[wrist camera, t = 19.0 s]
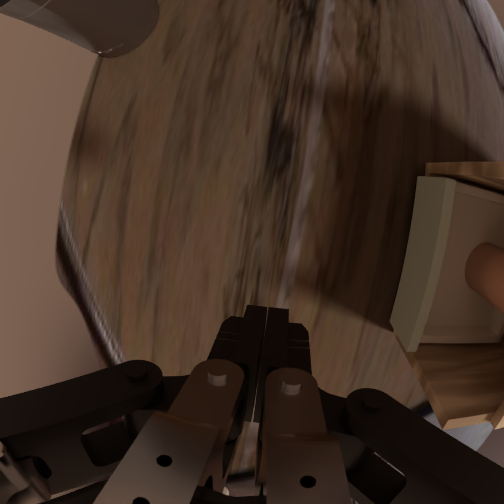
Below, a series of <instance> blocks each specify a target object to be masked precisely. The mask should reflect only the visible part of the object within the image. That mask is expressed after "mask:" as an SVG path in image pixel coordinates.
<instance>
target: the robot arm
mask: <svg viewBox="0 0 504 504" xmlns="http://www.w3.org/2000/svg"><path fill="white" fill-rule="evenodd" d="M0 13H2V14H5V15H8V16H10V17H13V18H16V19H19V20H21V21H24V22H27V23H29V24H32V25H34V26H36V27H39V28H42V29H44V30H46V31H49V32H51V33H53V34H55V35H58V36H60V37H62V38H64V39H67V40H69V41H71V42H73V43H75V44H77V45H79V46H82V47H84V48H86V49H88V50H90V51H91V52H93V53H96V54H98V55H100V56H102V57H116V56H120V55H123V54H125V53H127V52H129V51H131V50H132V49H134V48H135V47H137V46H138V45H139V44H140V43H142V42H143V41H144V40H145V39H146V38H147V36H148V35H149V34H150V33H151V31H152V30H153V28H154V26H155V24H156V22H157V19H158V15H159V6H158V4H157V1H156V0H0ZM266 315H267V307H263V306H254V305H247V307H246V311H245V314H244V317H235V316H231V317H229V318H228V319H226V320H225V321H224V322H223V323H222V325H221V327H220V330H219V332H218V334H217V337H216V339H215V342H214V344H213V346H212V349H211V351H210V354H209V356H208V358H207V360H206V361H203V362H201V363H199V364H197V365H196V366H195V367H194V369H193V370H192V372H191V374H190V375H186V376H163V375H162V371H161V369H160V368H159V367H158V366H157V365H155V364H154V363H152V362H149V361H145V360H131V361H127V362H124V363H121V364H118V365H115V366H111V367H108V368H105V369H102V370H99V371H96V372H93V373H90V374H86V375H83V376H80V377H77V378H73V379H70V380H67V381H63V382H60V383H56V384H53V385H50V386H46V387H43V388H38V389H35V390H31V391H27V392H24V393H20V394H16V395H12V396H8V397H4V398H0V504H352V503H351V497H352V498H353V499H354V500H356V501H357V502H358V503H359V504H504V468H503V467H501V466H500V465H498V464H496V463H494V462H493V461H491V460H489V459H488V458H486V457H484V456H483V455H481V454H479V453H478V452H476V451H474V450H473V449H471V448H470V447H468V446H466V445H465V444H463V443H461V442H460V441H458V440H457V439H455V438H453V437H452V436H450V435H449V434H447V433H446V432H444V431H442V430H441V429H439V428H438V427H436V426H435V425H433V424H431V423H430V422H428V421H427V420H425V419H424V418H422V417H421V416H419V415H418V414H416V413H415V412H413V411H411V410H410V409H408V408H407V407H405V406H404V405H402V404H401V403H399V402H398V401H396V400H395V399H393V398H392V397H390V396H389V395H387V394H386V393H384V392H382V391H380V390H376V389H371V388H362V389H358V390H355V391H353V392H351V393H350V394H349V395H348V397H347V398H343V397H339V396H335V395H332V394H329V393H327V392H325V391H323V390H322V389H320V388H319V387H318V384H317V381H316V379H315V378H314V377H313V376H312V371H311V358H310V349H309V348H310V346H309V335H308V331H307V330H306V328H305V327H304V326H303V325H302V324H299V323H289V309H282V308H272V307H269V310H268V317H267V323H266ZM265 324H266V330H265ZM264 333H265V336H264ZM263 342H264V343H263ZM258 377H259V378H258ZM257 383H258V386H257ZM256 389H257V395H256ZM255 395H256V403H255V412H254V420H253V422H257V423H259V429H258V437H257V443H256V466H255V488H254V496H245V497H232V496H228V495H225V494H223V489H224V485H225V482H226V479H227V476H228V473H229V470H230V467H231V464H232V461H233V458H234V455H235V451H236V448H237V445H238V442H239V436H240V434H241V432H242V428H243V423H244V421H248V422H251V419H252V413H253V407H254V401H255ZM119 417H123V421H121V422H119V423H116V424H113V425H111V426H108V427H106V428H103V429H100V430H97V431H94V432H92V433H89V434H85V435H82V433H83V432H84V431H85V430H87V429H89V428H92V427H94V426H97V425H100V424H103V423H106V422H108V421H111V420H114V419H116V418H119ZM375 452H376V453H377V454H378V455H380V456H381V457H382V458H384V459H385V460H386V461H388V462H389V463H390V464H392V465H393V466H394V467H396V468H397V469H398V470H400V471H401V472H402V473H403V474H404V476H403V475H402V474H400V473H399V472H398V471H396V470H395V469H394V468H392V467H391V466H390V465H388V464H387V463H386V462H385V461H383V460H382V459H381V458H379V457H378V456H377V455H376V454H374V453H375ZM111 474H112V476H111V477H110V479H108V480H104V481H100V482H97V483H94V484H92V485H89V486H87V487H84V488H82V489H79V490H76V491H74V492H71V493H68V494H65V495H63V496H60V497H57V498H54V499H51V495H53V494H57V493H60V492H63V491H66V490H69V489H73V488H76V487H79V486H81V485H84V484H87V483H90V482H93V481H95V480H98V479H101V478H103V477H106V476H109V475H111ZM350 496H351V497H350ZM50 499H51V500H50Z"/></svg>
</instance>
